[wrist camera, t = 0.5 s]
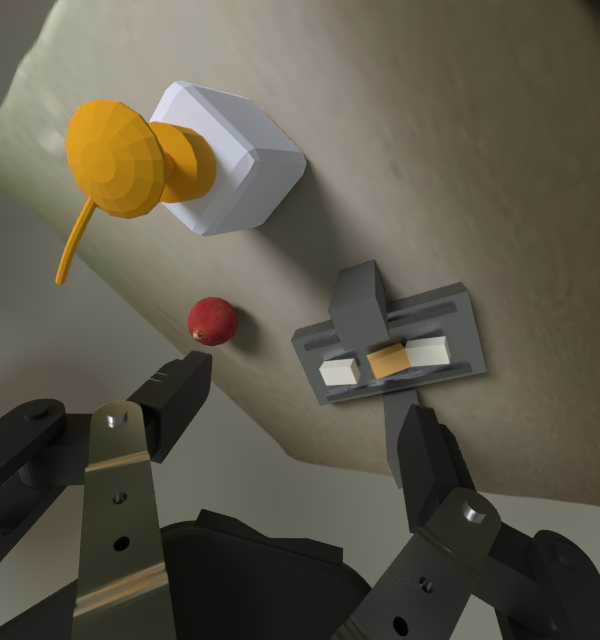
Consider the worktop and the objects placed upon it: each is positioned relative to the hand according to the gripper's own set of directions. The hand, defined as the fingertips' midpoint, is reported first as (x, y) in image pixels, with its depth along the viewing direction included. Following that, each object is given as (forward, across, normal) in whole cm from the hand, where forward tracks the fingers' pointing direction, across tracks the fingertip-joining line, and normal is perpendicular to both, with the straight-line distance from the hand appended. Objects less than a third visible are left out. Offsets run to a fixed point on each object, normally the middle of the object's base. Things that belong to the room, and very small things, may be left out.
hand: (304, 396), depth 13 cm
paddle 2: (+24, -12, +7) cm, 27 cm away
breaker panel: (+27, -8, +9) cm, 29 cm away
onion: (+28, +13, +10) cm, 32 cm away
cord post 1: (+27, -3, +2) cm, 27 cm away
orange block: (+24, -8, +9) cm, 27 cm away
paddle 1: (+24, -3, +12) cm, 27 cm away
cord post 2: (+27, -12, +16) cm, 34 cm away
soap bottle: (+27, +12, -6) cm, 30 cm away
